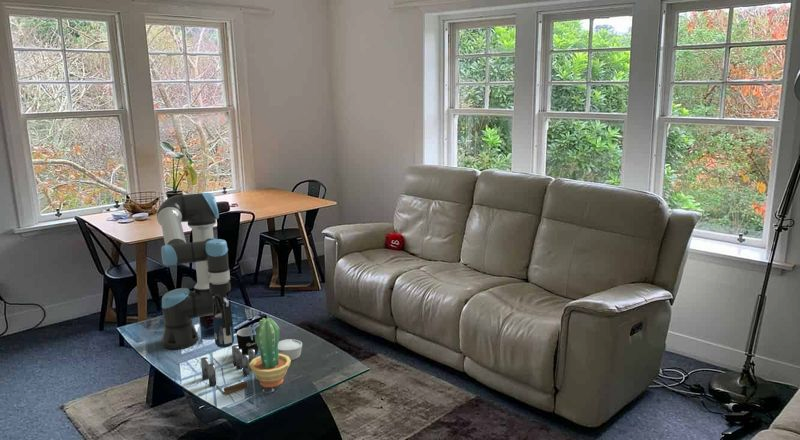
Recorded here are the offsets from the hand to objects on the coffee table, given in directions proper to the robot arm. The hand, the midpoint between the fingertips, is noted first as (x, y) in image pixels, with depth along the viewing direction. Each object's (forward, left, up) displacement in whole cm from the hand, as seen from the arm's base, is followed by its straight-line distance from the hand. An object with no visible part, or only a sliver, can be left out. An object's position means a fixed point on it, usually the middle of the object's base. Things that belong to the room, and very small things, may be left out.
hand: (224, 339), depth 230 cm
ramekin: (-5, +28, -17) cm, 33 cm away
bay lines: (+6, -1, -17) cm, 18 cm away
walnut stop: (+10, -1, -17) cm, 19 cm away
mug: (-17, +17, -17) cm, 29 cm away
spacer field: (-5, +3, -17) cm, 17 cm away
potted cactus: (+11, +13, -17) cm, 24 cm away
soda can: (0, 0, -2) cm, 2 cm away
